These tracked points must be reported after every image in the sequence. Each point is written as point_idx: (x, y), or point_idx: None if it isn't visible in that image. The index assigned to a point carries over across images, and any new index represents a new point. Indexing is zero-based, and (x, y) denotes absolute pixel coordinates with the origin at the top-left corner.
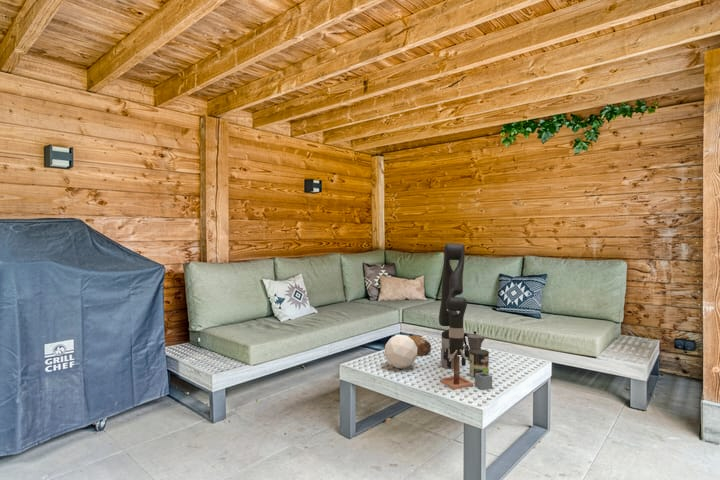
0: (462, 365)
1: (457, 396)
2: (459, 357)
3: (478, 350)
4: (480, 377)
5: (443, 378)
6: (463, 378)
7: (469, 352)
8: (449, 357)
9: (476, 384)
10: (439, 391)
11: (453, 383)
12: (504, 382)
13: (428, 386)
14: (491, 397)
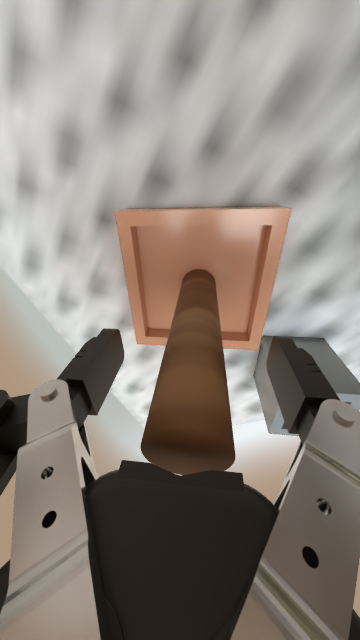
0: (270, 348)
1: (133, 370)
2: (214, 466)
3: None
4: (270, 420)
5: (138, 219)
6: (266, 276)
7: None
8: (70, 421)
9: (265, 358)
10: (81, 309)
11: (181, 279)
12: None
13: (40, 232)
14: (239, 413)
